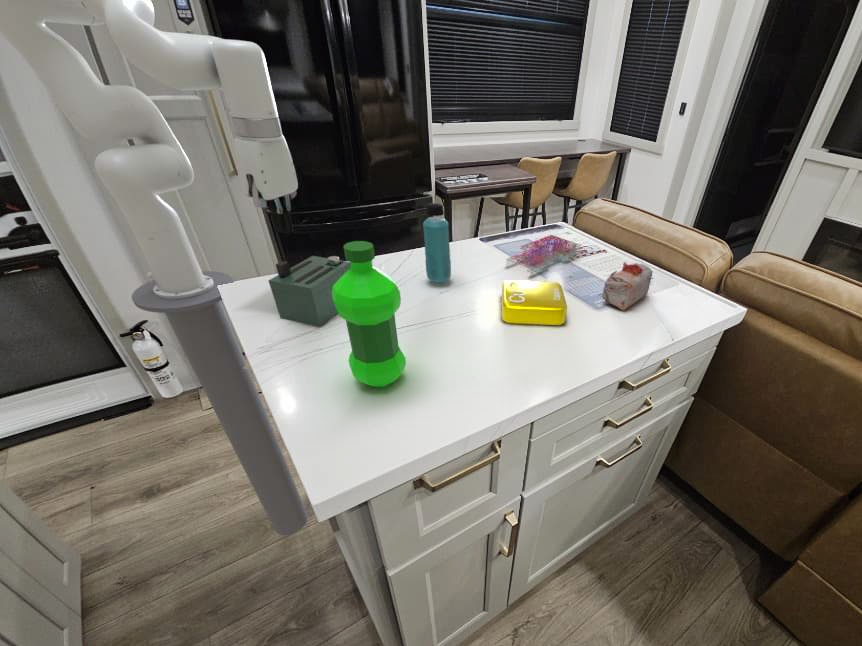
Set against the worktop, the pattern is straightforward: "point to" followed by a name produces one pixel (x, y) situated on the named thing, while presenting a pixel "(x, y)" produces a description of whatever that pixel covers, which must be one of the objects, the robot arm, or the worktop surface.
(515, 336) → the worktop surface
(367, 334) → the plastic bottle
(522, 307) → the element tile
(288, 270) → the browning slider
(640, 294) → the food item
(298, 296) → the toaster
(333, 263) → the button
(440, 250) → the beverage bottle
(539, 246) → the purple mottled irregular slab
